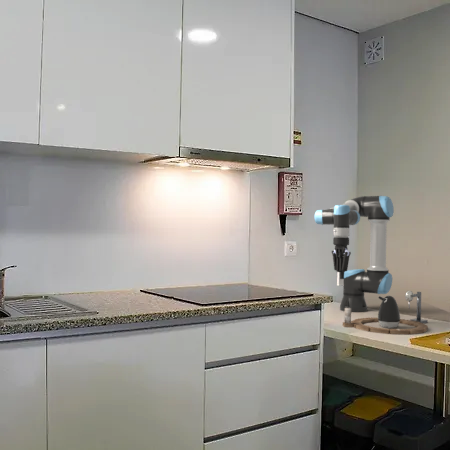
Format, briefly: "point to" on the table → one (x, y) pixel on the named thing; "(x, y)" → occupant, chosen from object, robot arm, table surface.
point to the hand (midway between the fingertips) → (340, 285)
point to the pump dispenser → (388, 312)
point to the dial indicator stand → (409, 297)
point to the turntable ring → (359, 325)
